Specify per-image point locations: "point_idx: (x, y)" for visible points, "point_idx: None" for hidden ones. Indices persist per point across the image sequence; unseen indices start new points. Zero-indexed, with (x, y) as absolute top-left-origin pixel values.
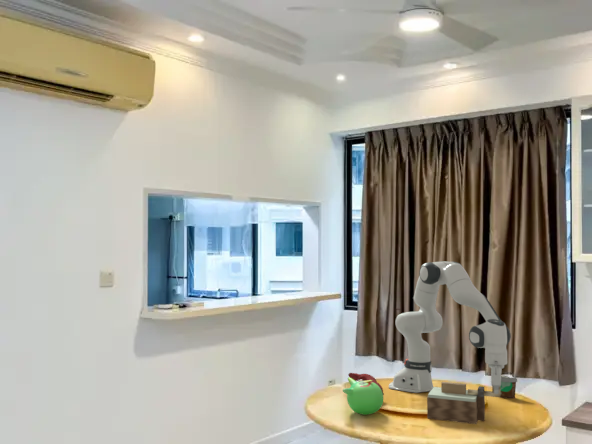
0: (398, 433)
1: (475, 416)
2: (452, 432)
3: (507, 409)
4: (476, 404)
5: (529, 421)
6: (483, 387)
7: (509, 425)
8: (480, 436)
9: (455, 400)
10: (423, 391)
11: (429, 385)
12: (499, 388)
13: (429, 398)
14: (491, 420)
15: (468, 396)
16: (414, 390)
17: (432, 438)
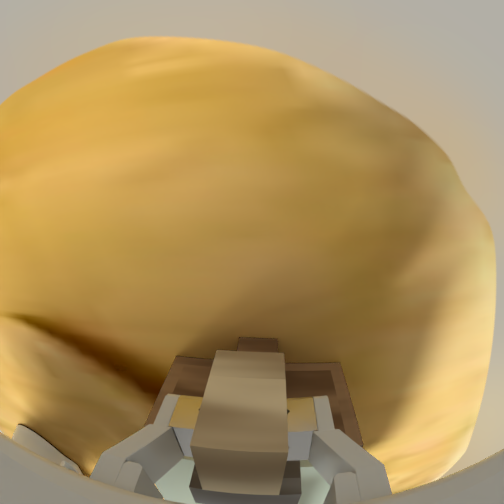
0: (436, 467)
1: (346, 389)
2: (441, 401)
3: (36, 236)
4: (345, 433)
5: (180, 103)
6: (222, 493)
7: (309, 209)
8: (479, 321)
9: None
10: (58, 452)
11: (35, 447)
12: (285, 431)
13: None
14: (246, 306)
15: (305, 487)
16: (76, 470)
17: (477, 416)
